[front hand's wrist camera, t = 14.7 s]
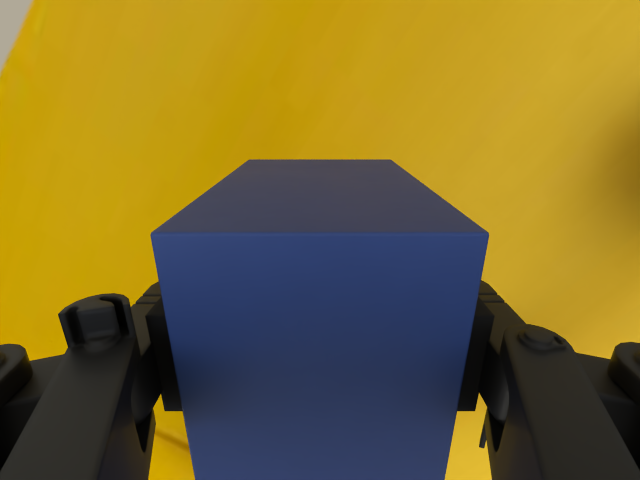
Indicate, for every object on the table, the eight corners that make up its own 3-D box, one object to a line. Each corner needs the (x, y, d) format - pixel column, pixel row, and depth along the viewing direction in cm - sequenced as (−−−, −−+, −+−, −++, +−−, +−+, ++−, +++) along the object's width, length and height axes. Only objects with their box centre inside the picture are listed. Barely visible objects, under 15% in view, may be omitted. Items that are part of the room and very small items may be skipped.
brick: (391, 159, 15) (491, 232, 6) (381, 298, 17) (443, 490, 9) (248, 159, 15) (148, 233, 6) (258, 298, 17) (196, 490, 9)
